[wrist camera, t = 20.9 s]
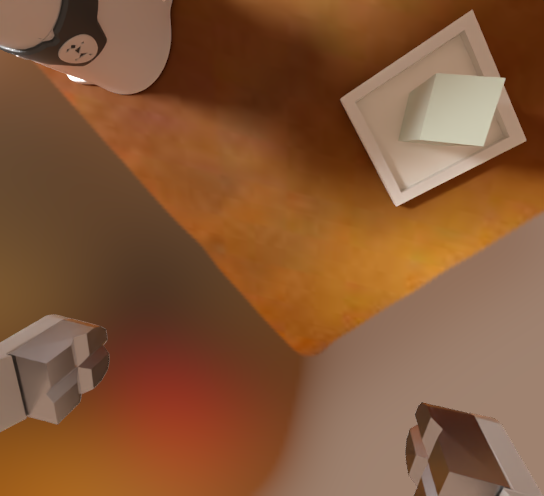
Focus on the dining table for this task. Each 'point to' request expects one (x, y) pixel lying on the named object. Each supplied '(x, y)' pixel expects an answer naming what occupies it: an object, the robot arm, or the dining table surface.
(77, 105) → the dining table surface
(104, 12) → the robot arm
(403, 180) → the serving tray
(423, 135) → the sage block
